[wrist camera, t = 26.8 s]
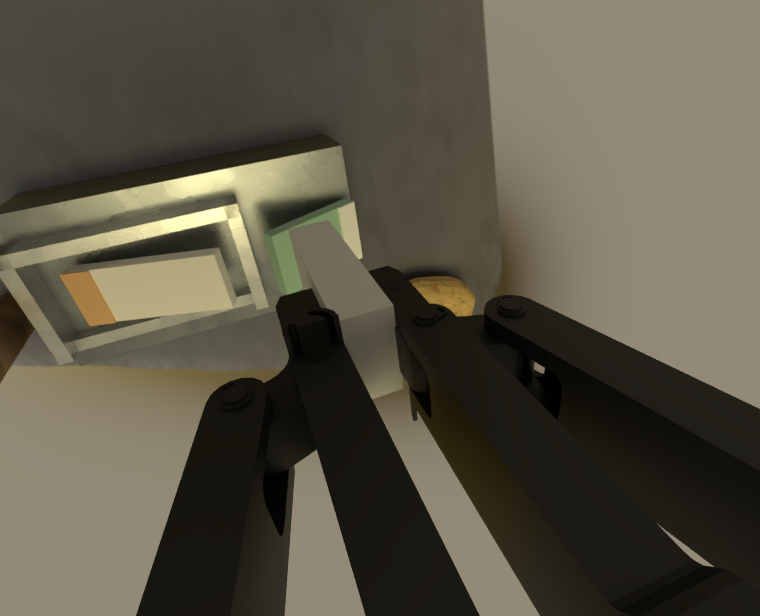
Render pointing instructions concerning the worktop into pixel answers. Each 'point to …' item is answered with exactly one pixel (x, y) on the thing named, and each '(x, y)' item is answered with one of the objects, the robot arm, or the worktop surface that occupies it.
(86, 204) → the grey storage bin
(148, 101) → the worktop surface
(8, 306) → the brown rounded rod
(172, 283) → the rocker
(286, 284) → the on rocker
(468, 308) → the potato
